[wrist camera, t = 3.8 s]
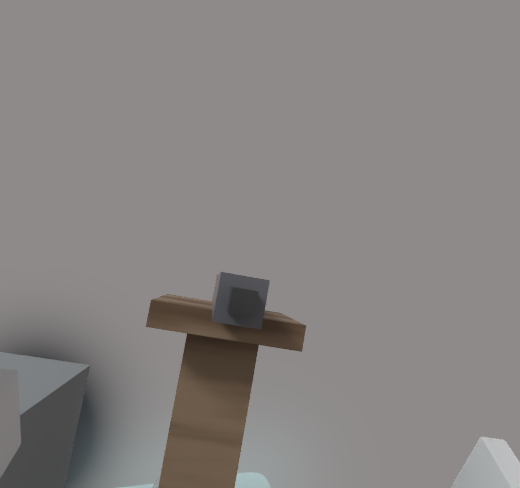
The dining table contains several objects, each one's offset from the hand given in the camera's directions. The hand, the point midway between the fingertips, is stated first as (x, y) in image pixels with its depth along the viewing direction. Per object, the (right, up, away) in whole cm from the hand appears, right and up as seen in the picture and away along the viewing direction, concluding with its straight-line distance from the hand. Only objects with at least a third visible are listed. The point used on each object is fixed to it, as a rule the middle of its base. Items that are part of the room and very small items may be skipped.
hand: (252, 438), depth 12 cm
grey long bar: (-2, 0, +22) cm, 22 cm away
